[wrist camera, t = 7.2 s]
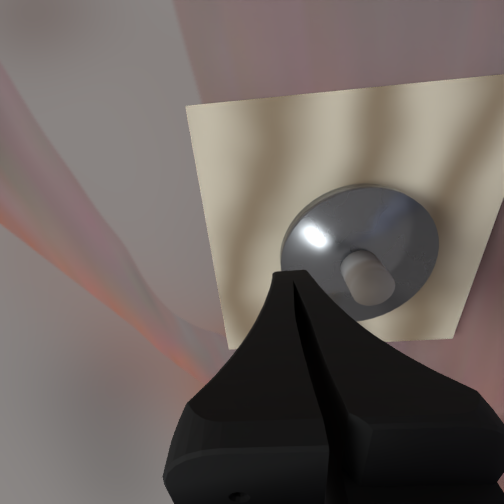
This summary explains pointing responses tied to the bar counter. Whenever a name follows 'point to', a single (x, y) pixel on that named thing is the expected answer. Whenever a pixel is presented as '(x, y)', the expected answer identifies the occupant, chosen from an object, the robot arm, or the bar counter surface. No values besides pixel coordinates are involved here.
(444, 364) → the bar counter surface
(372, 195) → the flange
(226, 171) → the base
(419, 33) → the bar counter surface
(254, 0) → the bar counter surface
